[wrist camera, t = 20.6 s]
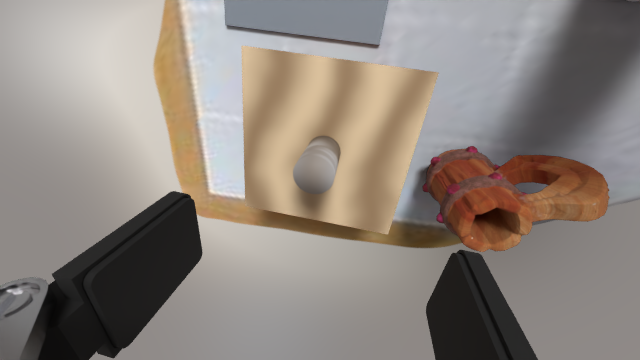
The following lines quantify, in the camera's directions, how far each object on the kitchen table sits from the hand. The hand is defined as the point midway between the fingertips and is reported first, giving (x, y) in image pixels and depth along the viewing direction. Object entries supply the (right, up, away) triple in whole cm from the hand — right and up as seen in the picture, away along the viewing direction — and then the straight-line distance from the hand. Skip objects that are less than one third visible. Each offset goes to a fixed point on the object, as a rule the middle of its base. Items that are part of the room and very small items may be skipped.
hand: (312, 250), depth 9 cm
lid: (+1, +6, +18) cm, 19 cm away
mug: (+22, +5, +26) cm, 35 cm away
